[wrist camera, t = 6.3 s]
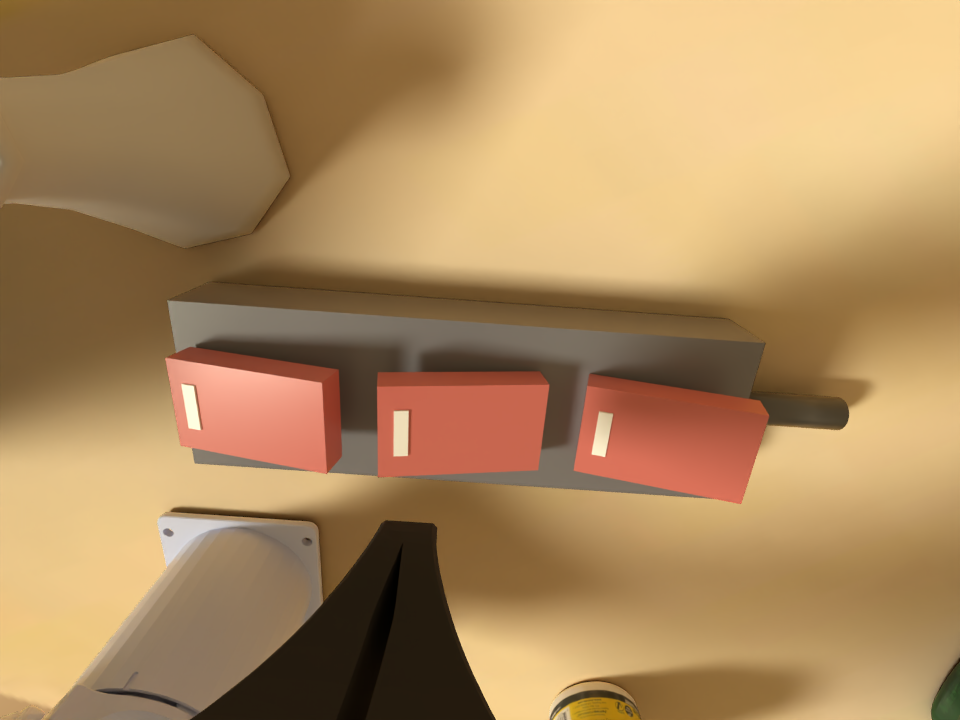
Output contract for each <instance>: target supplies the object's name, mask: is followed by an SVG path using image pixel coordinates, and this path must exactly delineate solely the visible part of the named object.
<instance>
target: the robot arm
mask: <svg viewBox="0 0 960 720" xmlns="http://www.w3.org/2000/svg"><path fill="white" fill-rule="evenodd" d="M157 524H158V529H159V533H160V538H161V543H162V547H163V552H164V557H165V561H166V566H167V568H166V569H165V570H164V571H163V573H162V574H161V575H160V576H159V578H158V579H157V580H156V581H155V583H154V584H153V585H152V587H151V588H150V589H149V590H148V592H147V593H146V594H145V595H144V597H143V598H142V599H141V600H140V602H139V603H138V604H137V605H136V607H135V608H134V609H133V610H132V612H131V613H130V614H129V616H128V617H127V618H126V619H125V621H124V622H123V623H122V624H121V626H120V627H119V628H118V629H117V631H116V632H115V633H114V634H113V636H112V637H111V638H110V639H109V641H108V642H107V643H106V644H105V646H104V647H103V648H102V650H101V651H100V652H99V653H98V655H97V656H96V657H95V658H94V660H93V661H92V662H91V663H90V665H89V666H88V667H87V668H86V670H85V671H84V672H83V673H82V675H81V676H80V677H79V679H78V680H77V681H76V682H75V684H74V685H73V686H72V687H71V689H70V690H69V691H68V692H67V694H66V695H65V696H64V697H63V698H62V699H61V700H60V702H59V703H58V704H57V705H56V706H55V707H54V708H53V709H52V710H51V711H50V712H49V713H48V714H47V715H46V716H45V717H44V718H43V716H44V715H45V711H43V710H41V709H40V708H38V707H36V706H33V705H30V706H27V707H26V708H24V709H23V710H22V711H21V712H20V713H19V712H14V713H11V714H8V715H5V716H2V717H0V720H41V719H42V718H43V719H42V720H496V719H495V717H494V715H493V714H492V712H491V710H490V708H489V706H488V704H487V702H486V700H485V698H484V696H483V694H482V692H481V689H480V687H479V685H478V683H477V681H476V679H475V677H474V675H473V673H472V671H471V668H470V666H469V663H468V661H467V659H466V656H465V654H464V651H463V649H462V646H461V643H460V641H459V638H458V635H457V633H456V630H455V627H454V624H453V621H452V617H451V614H450V611H449V607H448V604H447V600H446V597H445V593H444V588H443V584H442V580H441V575H440V570H439V564H438V557H437V548H436V539H437V527H436V526H435V525H434V524H432V523H417V522H402V521H388V520H386V521H384V522H383V523H382V524H381V525H380V527H379V529H378V531H377V532H376V534H375V535H374V537H373V539H372V540H371V542H370V543H369V545H368V546H367V548H366V549H365V550H364V552H363V553H362V555H361V556H360V558H359V559H358V560H357V562H356V563H355V564H354V565H353V567H352V568H351V569H350V571H349V572H348V573H347V575H346V576H345V577H344V579H343V580H342V581H341V582H340V584H339V585H338V586H337V587H336V588H335V589H334V591H333V592H332V593H331V594H330V595H329V596H328V598H327V599H326V600H325V601H324V602H323V592H322V577H321V561H320V546H319V530H318V527H317V526H316V524H314V523H312V522H309V521H295V520H280V519H266V518H251V517H236V516H221V515H206V514H191V513H177V512H165V513H163V514H162V515H161V516H160V517H159V519H158V520H157ZM170 529H171V530H172V531H171V530H170ZM306 538H309V539H311V540H307V539H306Z"/></svg>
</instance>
